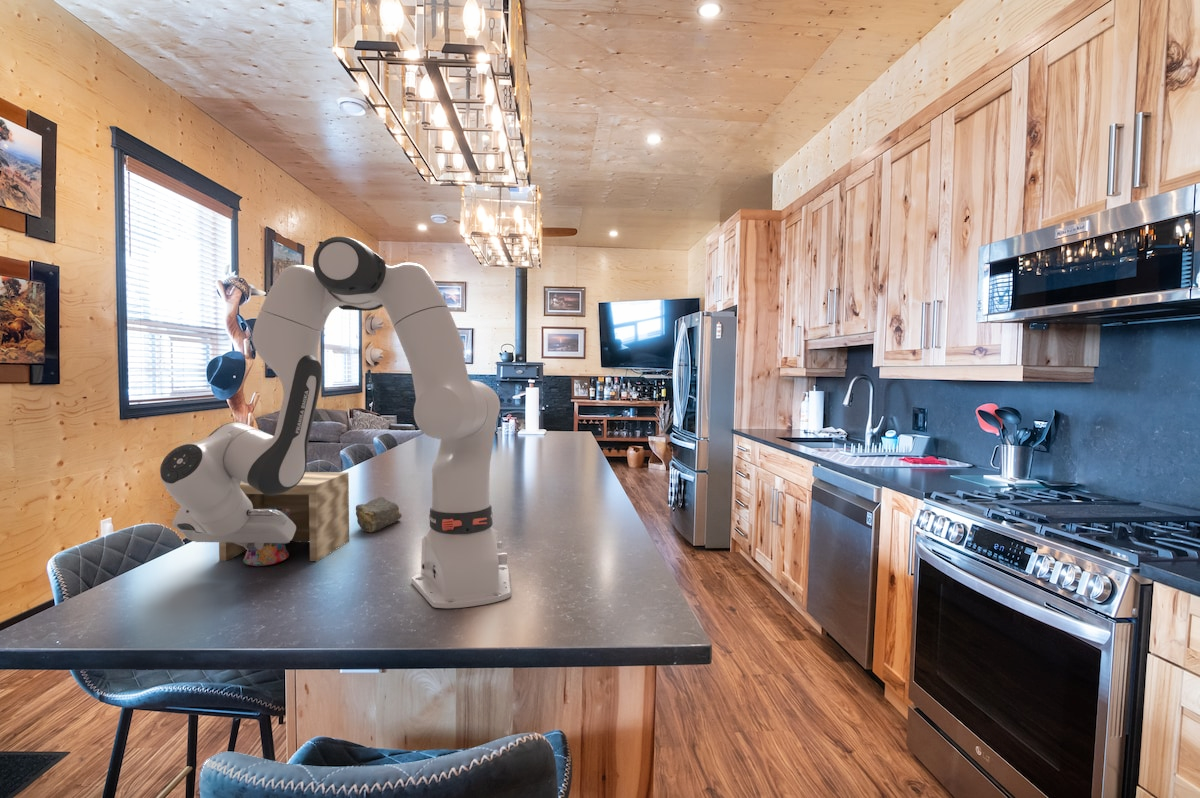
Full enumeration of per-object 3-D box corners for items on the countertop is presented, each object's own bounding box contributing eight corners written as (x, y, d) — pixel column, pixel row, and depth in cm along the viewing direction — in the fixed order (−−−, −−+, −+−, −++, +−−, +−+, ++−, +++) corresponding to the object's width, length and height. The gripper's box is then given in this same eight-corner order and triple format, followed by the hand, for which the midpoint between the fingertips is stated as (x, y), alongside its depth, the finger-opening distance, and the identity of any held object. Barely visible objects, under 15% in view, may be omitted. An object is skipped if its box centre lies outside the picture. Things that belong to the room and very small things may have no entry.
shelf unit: (316, 562, 124) (315, 485, 123) (219, 560, 124) (217, 484, 124) (349, 540, 139) (348, 472, 139) (262, 539, 140) (261, 471, 139)
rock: (392, 516, 145) (352, 506, 144) (386, 542, 145) (345, 532, 144) (408, 499, 162) (372, 490, 161) (402, 522, 162) (366, 513, 161)
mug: (279, 568, 120) (278, 517, 119) (231, 569, 119) (230, 518, 118) (303, 550, 132) (303, 504, 131) (260, 551, 131) (259, 504, 130)
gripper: (285, 497, 112) (311, 533, 122) (179, 496, 112) (214, 532, 122) (272, 526, 108) (300, 561, 118) (162, 525, 108) (200, 560, 118)
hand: (255, 546), depth 120 cm, fingers closed, pressing on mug
